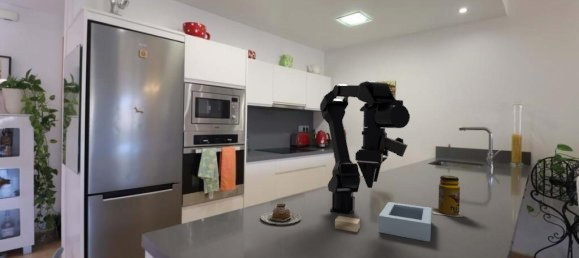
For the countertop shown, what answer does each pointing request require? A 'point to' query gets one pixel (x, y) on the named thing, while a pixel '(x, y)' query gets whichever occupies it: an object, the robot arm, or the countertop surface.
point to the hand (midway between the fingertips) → (372, 184)
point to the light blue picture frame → (406, 221)
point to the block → (347, 223)
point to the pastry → (280, 215)
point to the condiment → (448, 197)
